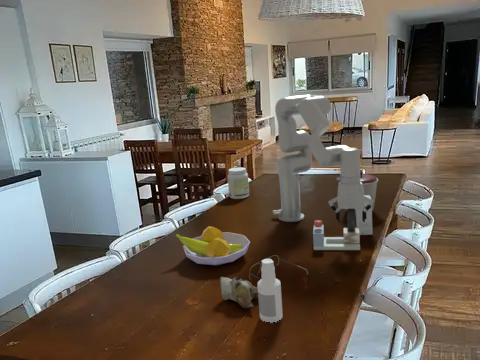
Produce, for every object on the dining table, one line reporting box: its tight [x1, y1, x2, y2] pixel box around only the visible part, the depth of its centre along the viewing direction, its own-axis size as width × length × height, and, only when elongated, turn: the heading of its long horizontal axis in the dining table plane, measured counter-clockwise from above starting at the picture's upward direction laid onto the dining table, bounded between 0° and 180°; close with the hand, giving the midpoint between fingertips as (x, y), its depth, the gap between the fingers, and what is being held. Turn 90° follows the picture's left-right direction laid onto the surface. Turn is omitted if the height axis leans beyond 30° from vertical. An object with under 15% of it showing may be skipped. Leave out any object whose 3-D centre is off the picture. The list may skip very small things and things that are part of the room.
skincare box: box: [355, 195, 374, 236], centre depth 186 cm, size 8×7×16 cm
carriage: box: [342, 209, 361, 244], centre depth 172 cm, size 6×6×14 cm
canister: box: [339, 169, 379, 215], centre depth 212 cm, size 18×18×21 cm
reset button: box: [313, 219, 323, 227], centre depth 175 cm, size 3×3×2 cm
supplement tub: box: [227, 167, 250, 200], centre depth 256 cm, size 12×12×17 cm
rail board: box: [312, 224, 361, 251], centre depth 175 cm, size 18×10×7 cm, turn 79°
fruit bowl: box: [175, 225, 251, 266], centre depth 172 cm, size 28×27×11 cm
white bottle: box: [256, 258, 283, 324], centre depth 125 cm, size 7×7×18 cm
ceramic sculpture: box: [219, 276, 258, 309], centre depth 137 cm, size 11×9×15 cm
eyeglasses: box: [248, 254, 309, 280], centre depth 152 cm, size 16×15×5 cm
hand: (351, 221), depth 172 cm, fingers open, 9 cm apart
